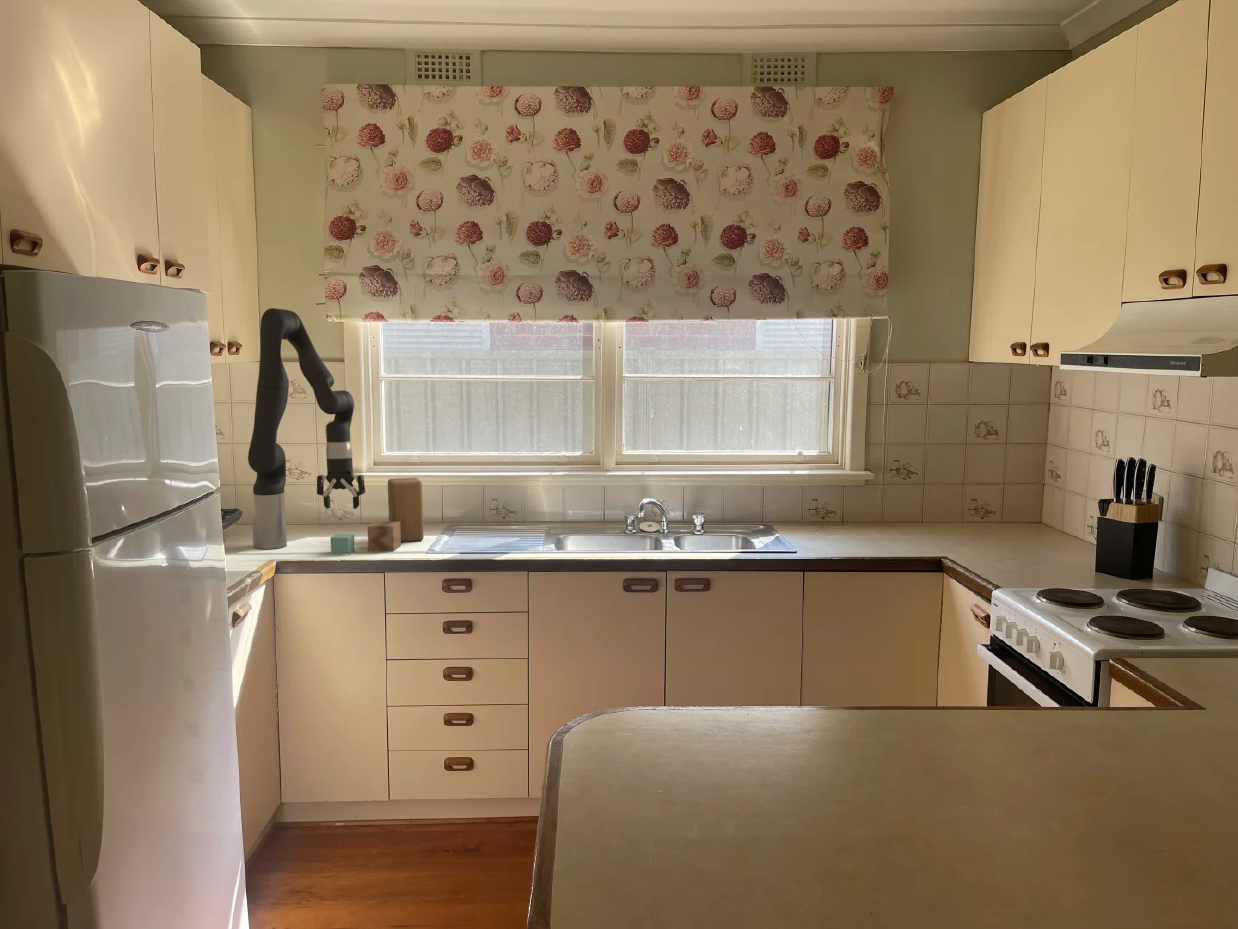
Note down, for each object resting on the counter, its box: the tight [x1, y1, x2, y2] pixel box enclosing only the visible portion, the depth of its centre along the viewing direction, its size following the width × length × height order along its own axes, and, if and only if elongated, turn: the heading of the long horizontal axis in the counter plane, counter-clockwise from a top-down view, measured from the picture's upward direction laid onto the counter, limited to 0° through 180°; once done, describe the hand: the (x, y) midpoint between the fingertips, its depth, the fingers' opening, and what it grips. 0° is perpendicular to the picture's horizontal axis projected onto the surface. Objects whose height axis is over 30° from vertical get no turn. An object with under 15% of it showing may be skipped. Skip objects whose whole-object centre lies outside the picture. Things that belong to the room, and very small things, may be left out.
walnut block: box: [367, 520, 402, 552], centre depth 291 cm, size 8×8×8 cm
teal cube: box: [329, 533, 356, 556], centre depth 285 cm, size 6×6×6 cm
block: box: [387, 477, 425, 543], centre depth 304 cm, size 10×10×20 cm
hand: (341, 508), depth 284 cm, fingers open, 8 cm apart
